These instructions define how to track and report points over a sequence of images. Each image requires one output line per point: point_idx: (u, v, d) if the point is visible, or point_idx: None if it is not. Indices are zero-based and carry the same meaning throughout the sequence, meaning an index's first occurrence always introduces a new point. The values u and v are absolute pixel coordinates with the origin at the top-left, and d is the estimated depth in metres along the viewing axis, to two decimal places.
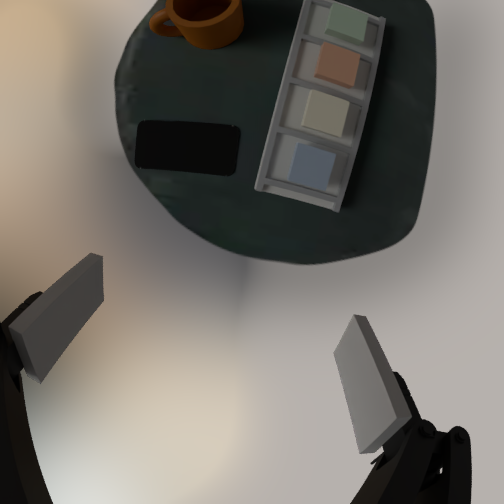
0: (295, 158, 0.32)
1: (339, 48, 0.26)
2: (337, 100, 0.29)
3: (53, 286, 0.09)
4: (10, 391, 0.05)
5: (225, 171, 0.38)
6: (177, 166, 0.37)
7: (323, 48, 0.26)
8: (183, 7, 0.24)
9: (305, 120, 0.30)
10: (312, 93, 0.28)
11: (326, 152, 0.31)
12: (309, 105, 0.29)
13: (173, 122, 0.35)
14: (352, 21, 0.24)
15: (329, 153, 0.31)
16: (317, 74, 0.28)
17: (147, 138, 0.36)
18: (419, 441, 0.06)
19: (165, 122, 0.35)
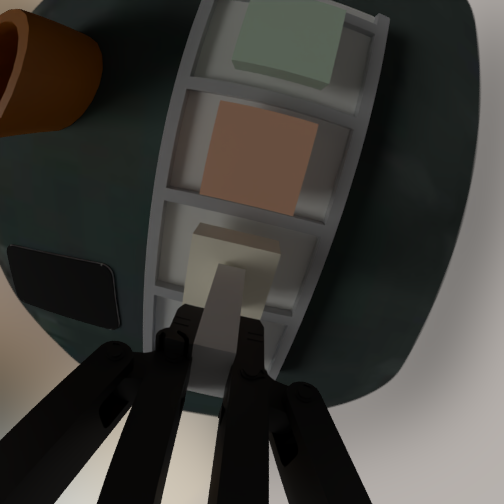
0: None
1: (260, 113, 0.12)
2: (251, 254, 0.15)
3: (210, 298, 0.12)
4: (175, 420, 0.07)
5: (108, 324, 0.24)
6: (56, 309, 0.24)
7: (217, 120, 0.12)
8: (0, 75, 0.10)
9: (185, 298, 0.16)
10: (193, 244, 0.15)
11: None
12: (189, 269, 0.15)
13: (36, 253, 0.21)
14: (303, 29, 0.10)
15: None
16: None
17: (19, 270, 0.22)
18: (245, 387, 0.08)
19: (28, 251, 0.21)
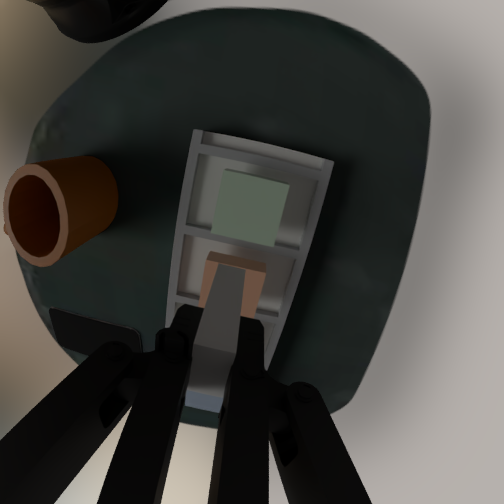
0: (188, 391, 0.27)
1: None
2: None
3: (210, 298, 0.12)
4: (176, 420, 0.07)
5: None
6: None
7: (205, 271, 0.22)
8: (35, 196, 0.21)
9: None
10: None
11: None
12: None
13: (76, 316, 0.31)
14: (257, 208, 0.20)
15: None
16: None
17: (60, 325, 0.32)
18: (245, 387, 0.08)
19: (70, 314, 0.31)
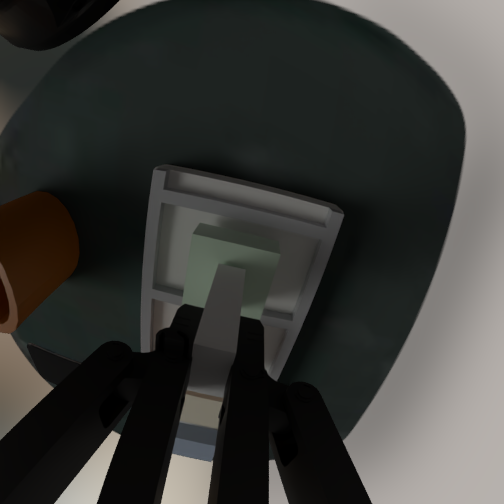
0: None
1: None
2: (211, 402, 0.21)
3: (210, 298, 0.12)
4: (175, 420, 0.07)
5: None
6: None
7: None
8: None
9: None
10: None
11: (204, 444, 0.22)
12: None
13: (54, 355, 0.26)
14: None
15: (208, 445, 0.22)
16: None
17: (40, 361, 0.27)
18: (245, 387, 0.08)
19: (47, 353, 0.26)
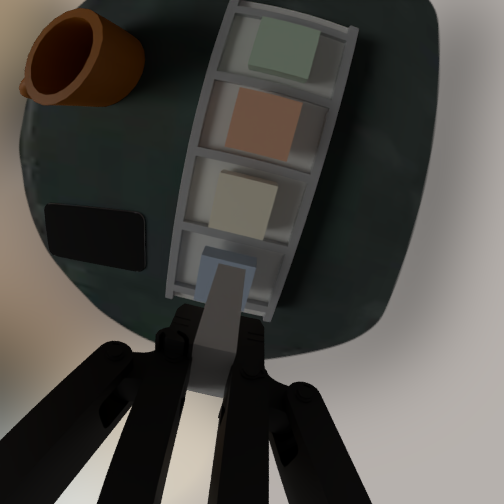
0: (199, 274, 0.24)
1: (265, 96, 0.18)
2: (258, 186, 0.22)
3: (210, 298, 0.12)
4: (176, 420, 0.07)
5: (135, 266, 0.30)
6: (87, 257, 0.30)
7: (238, 99, 0.18)
8: (59, 59, 0.17)
9: (211, 220, 0.23)
10: (220, 179, 0.22)
11: (241, 266, 0.24)
12: (216, 198, 0.23)
13: (74, 207, 0.28)
14: (292, 45, 0.17)
15: (246, 267, 0.24)
16: (227, 146, 0.20)
17: (55, 225, 0.28)
18: (245, 387, 0.08)
19: (67, 207, 0.28)
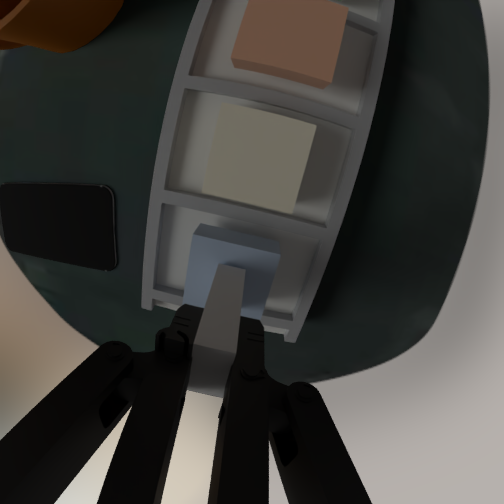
0: (190, 267, 0.15)
1: None
2: (285, 124, 0.13)
3: (210, 298, 0.12)
4: (175, 420, 0.07)
5: (103, 264, 0.21)
6: (45, 253, 0.21)
7: None
8: None
9: (206, 180, 0.14)
10: (221, 113, 0.12)
11: (258, 252, 0.15)
12: (215, 143, 0.13)
13: (29, 185, 0.18)
14: None
15: (265, 254, 0.15)
16: (235, 60, 0.11)
17: (10, 210, 0.19)
18: (245, 387, 0.08)
19: (22, 186, 0.18)
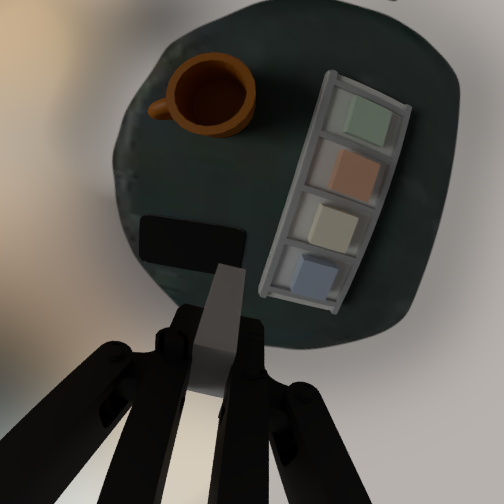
0: (299, 274, 0.35)
1: (359, 157, 0.28)
2: (346, 217, 0.32)
3: (210, 298, 0.12)
4: (175, 420, 0.07)
5: None
6: (182, 264, 0.39)
7: (342, 158, 0.28)
8: (187, 89, 0.27)
9: (313, 238, 0.33)
10: (322, 210, 0.32)
11: (329, 268, 0.34)
12: (318, 223, 0.32)
13: (177, 220, 0.37)
14: (374, 121, 0.28)
15: (332, 269, 0.34)
16: (332, 189, 0.30)
17: (151, 234, 0.38)
18: (245, 387, 0.08)
19: (168, 219, 0.37)
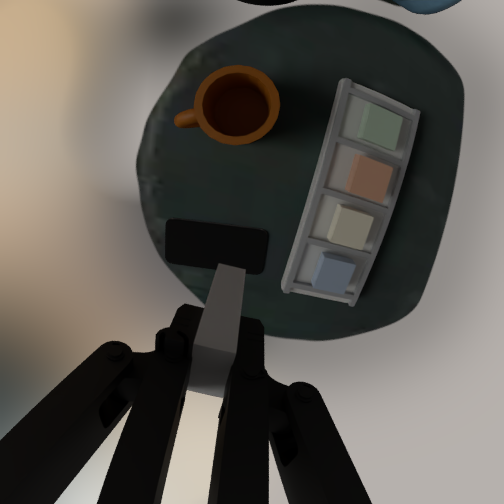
0: (320, 270, 0.37)
1: (374, 162, 0.30)
2: (363, 216, 0.34)
3: (210, 298, 0.12)
4: (176, 420, 0.07)
5: (254, 270, 0.42)
6: (208, 264, 0.42)
7: (358, 163, 0.30)
8: (211, 99, 0.29)
9: (332, 237, 0.35)
10: (341, 211, 0.34)
11: (348, 264, 0.36)
12: (337, 223, 0.34)
13: (202, 223, 0.39)
14: (387, 127, 0.29)
15: (350, 264, 0.36)
16: (349, 191, 0.32)
17: (177, 237, 0.40)
18: (245, 387, 0.08)
19: (194, 222, 0.39)
